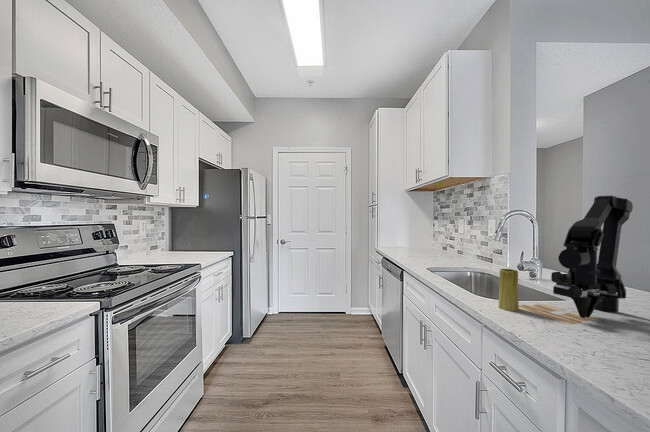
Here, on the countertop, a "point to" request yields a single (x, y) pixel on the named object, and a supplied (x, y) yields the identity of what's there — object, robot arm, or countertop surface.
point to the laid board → (549, 315)
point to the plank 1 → (546, 307)
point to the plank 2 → (577, 317)
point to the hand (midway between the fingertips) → (584, 317)
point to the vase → (508, 290)
